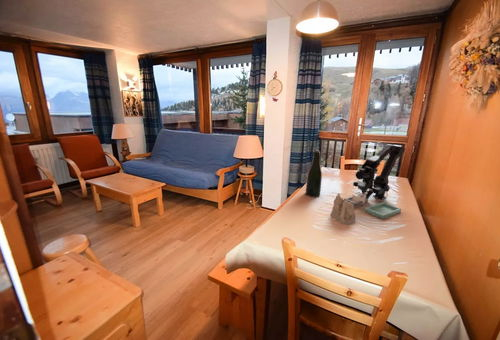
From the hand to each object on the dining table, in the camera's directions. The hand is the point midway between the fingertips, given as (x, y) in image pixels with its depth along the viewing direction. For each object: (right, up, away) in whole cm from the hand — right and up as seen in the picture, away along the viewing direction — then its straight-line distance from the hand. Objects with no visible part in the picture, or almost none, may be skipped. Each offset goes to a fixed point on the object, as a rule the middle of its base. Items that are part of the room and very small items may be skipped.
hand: (365, 198), depth 153 cm
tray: (+2, -6, -16) cm, 17 cm away
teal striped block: (-4, -2, -2) cm, 5 cm away
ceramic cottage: (-24, -8, -23) cm, 34 cm away
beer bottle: (-34, +2, +10) cm, 35 cm away
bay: (-12, -3, -6) cm, 13 cm away
